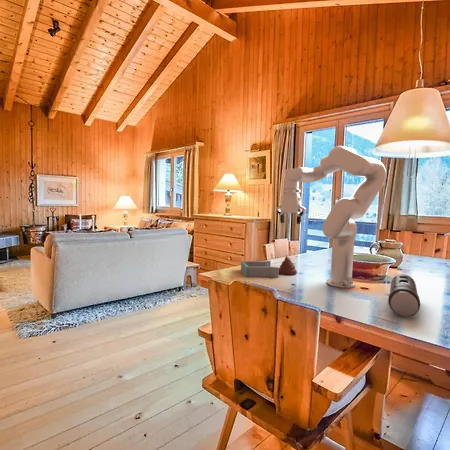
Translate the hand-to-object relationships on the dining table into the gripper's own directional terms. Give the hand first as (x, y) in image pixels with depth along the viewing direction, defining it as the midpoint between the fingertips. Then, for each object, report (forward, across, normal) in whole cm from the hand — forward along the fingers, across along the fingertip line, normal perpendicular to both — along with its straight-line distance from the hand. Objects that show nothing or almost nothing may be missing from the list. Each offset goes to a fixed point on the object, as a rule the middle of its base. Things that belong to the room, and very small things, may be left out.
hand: (290, 223), depth 172 cm
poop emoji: (+27, -2, +6) cm, 27 cm away
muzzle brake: (+28, -60, +24) cm, 70 cm away
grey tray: (+26, +9, +17) cm, 32 cm away
